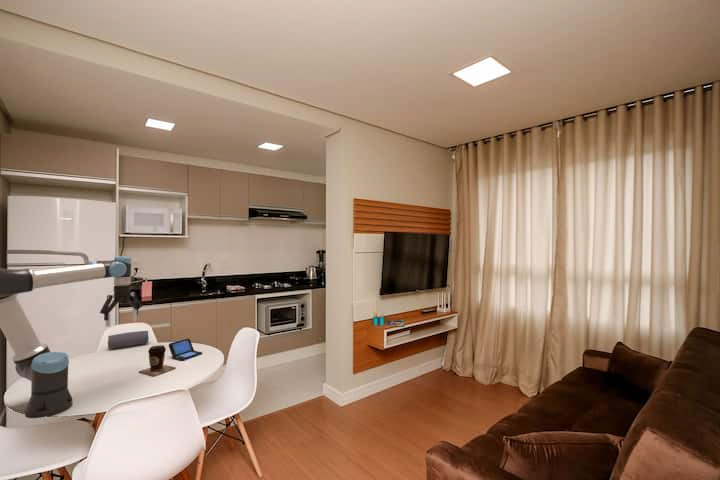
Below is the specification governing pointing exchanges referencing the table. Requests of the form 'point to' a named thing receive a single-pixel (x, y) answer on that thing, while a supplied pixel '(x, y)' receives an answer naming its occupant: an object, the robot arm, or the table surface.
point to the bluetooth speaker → (127, 339)
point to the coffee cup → (156, 357)
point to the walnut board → (156, 373)
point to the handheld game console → (183, 350)
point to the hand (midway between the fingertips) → (121, 323)
